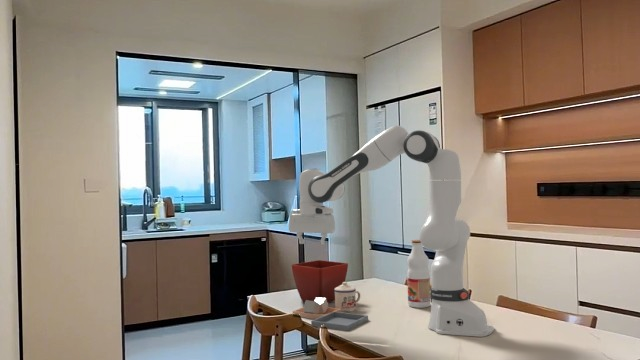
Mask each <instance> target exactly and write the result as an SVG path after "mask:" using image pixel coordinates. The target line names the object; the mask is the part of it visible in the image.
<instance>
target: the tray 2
mask: <svg viewBox="0 0 640 360" xmlns="http://www.w3.org/2000/svg"><path fill="white" fill-rule="evenodd" d="M368 321H369V315H366V314H358V313H357V314H356V313H348V312H343V311H342V312H331V313H329V314H328V315H324V316H322V317H319V318H317V319H313V320H311V327H317V328H322V327H321V325H323V324H324V325H325V326H326V327H327V328H326V329H329V330H330V329H331V330H338V331H345V332H348V331H350V330H353V329H354V328H356V327H359V326H360V325H362V324H364V323H366V322H368Z"/></svg>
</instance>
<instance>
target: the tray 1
mask: <svg viewBox="0 0 640 360" xmlns="http://www.w3.org/2000/svg"><path fill="white" fill-rule="evenodd" d="M303 308H304V306H303V307H300V308H297V309H295V310H292V314H293V313H298V314H300V316H301V317H300V318H306V319H307V318H308V319H313V320H315V319H317V318H319V317H322V316H324V315H328V314H329V313H331V312H342V313H343V311H342V309H340V308H335V307H329V306H328V309H327V310H326V312H325V313H324V314H314V313H306V312H303Z"/></svg>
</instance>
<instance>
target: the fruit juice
mask: <svg viewBox="0 0 640 360" xmlns="http://www.w3.org/2000/svg"><path fill="white" fill-rule="evenodd" d="M411 245H412V247H411V252H410V254H409V255H408V257H407V260H406V263H407V267H408V268H407V271H406V272H407V273H406V274H407V277H406V280H407V304H408V306H409V307H411V308H417V309H424V308H425V309H426V308H429V307H430V306H431V299H430V288H431V273H430V270H429V264H430V261H429V257H428V256H427V254H426V253H425V251H424V250H425V249H424V246H423V245H422V243H421V241H420V239H412V240H411Z"/></svg>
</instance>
